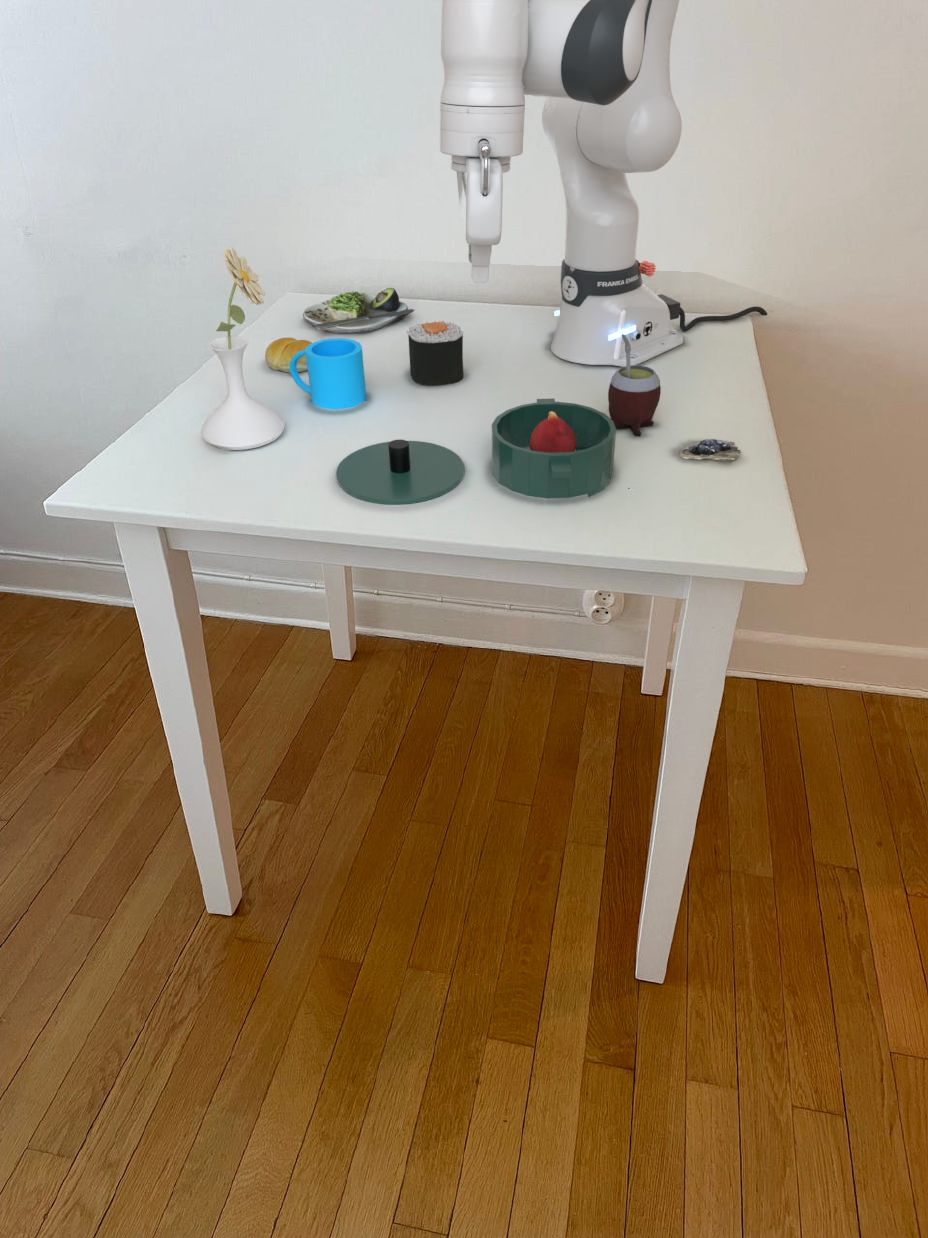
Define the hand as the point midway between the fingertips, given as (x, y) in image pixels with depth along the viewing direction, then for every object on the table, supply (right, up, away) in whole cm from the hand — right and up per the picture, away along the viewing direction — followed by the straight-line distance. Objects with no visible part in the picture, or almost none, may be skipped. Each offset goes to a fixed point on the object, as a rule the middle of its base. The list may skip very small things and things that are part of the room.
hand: (477, 271), depth 107 cm
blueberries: (+31, -18, +19) cm, 40 cm away
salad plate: (-20, +15, +64) cm, 69 cm away
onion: (+10, -20, +15) cm, 27 cm away
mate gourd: (+22, -13, +26) cm, 36 cm away
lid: (-10, -21, +15) cm, 27 cm away
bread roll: (-29, +2, +47) cm, 56 cm away
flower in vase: (-32, -14, +26) cm, 43 cm away
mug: (-22, -6, +36) cm, 42 cm away
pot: (+10, -20, +15) cm, 27 cm away
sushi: (-6, -1, +42) cm, 42 cm away
